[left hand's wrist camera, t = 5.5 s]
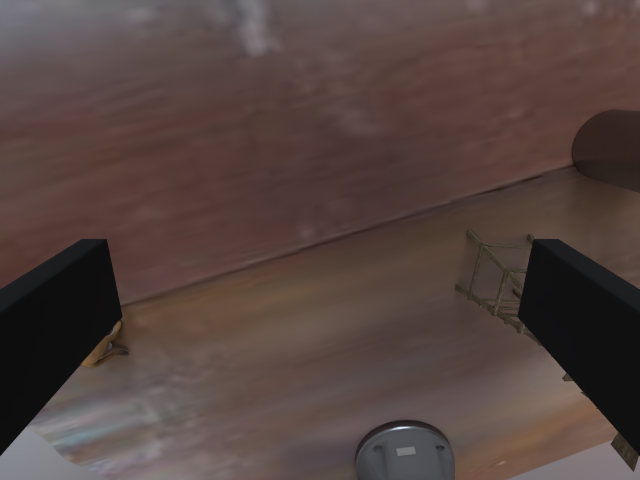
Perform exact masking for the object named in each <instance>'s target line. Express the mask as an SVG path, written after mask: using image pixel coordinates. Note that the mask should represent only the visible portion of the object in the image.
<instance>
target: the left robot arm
mask: <svg viewBox="0 0 640 480" xmlns="http://www.w3.org/2000/svg"><path fill="white" fill-rule="evenodd" d="M121 318H122V312H121V307H120V302H119V297H118V292H117V287H116V282H115V277H114V272H113V268H112V263H111V258H110V253H109V248H108V243H107V239H81V240H80V241H78V242H76V243H75V244H73V245H72V246H70V247H68V248H67V249H65V250H63V251H62V252H60V253H59V254H57V255H55V256H54V257H52V258H50V259H49V260H47V261H46V262H44V263H42V264H41V265H39V266H38V267H36V268H34V269H33V270H31V271H29V272H28V273H26V274H25V275H23V276H21V277H20V278H18V279H17V280H15V281H13V282H12V283H10V284H8V285H7V286H5V287H4V288H2V289H0V456H1V455H2V454H3V452H4V451H5V450H6V449H7V448H8V447H9V446H10V444H11V443H12V442H13V441H14V440H15V439H16V438H17V436H18V435H19V434H20V433H21V432H22V431H23V430H24V429H25V427H26V426H27V425H28V424H29V423H30V422H31V421H32V419H33V418H34V417H35V416H36V415H37V414H38V413H39V411H40V410H41V409H42V408H43V407H44V406H45V405H46V403H47V402H48V401H49V400H50V399H51V398H52V397H53V395H54V394H55V393H56V392H57V391H58V390H59V389H60V388H61V386H62V385H63V384H64V383H65V382H66V381H67V380H68V378H69V377H70V376H71V375H72V374H73V373H74V372H75V370H76V369H77V368H78V367H79V366H80V365H81V364H82V362H83V361H84V360H85V359H86V358H87V357H88V356H89V354H90V353H91V352H92V351H93V350H94V349H95V348H96V347H97V345H98V344H99V343H100V342H101V341H102V340H103V339H104V337H105V336H106V335H107V334H108V333H109V332H110V331H111V329H112V328H113V327H114V326H115V325H116V324H117V323H118V321H119V320H120V319H121ZM518 318H519V319H520V320H521V321H522V323H523V324H524V325H525V326H526V327H527V328H528V329H529V331H530V332H531V333H532V334H533V335H534V336H535V337H536V339H537V340H538V341H539V342H540V343H541V344H542V345H543V347H544V348H545V349H546V350H547V351H548V352H549V353H550V354H551V356H552V357H553V358H554V359H555V360H556V361H557V362H558V364H559V365H560V366H561V367H562V368H563V369H564V370H565V372H566V373H567V374H568V375H569V376H570V377H571V378H572V380H573V381H574V382H575V383H576V384H577V385H578V386H579V388H580V389H581V390H582V391H583V392H584V393H585V394H586V395H587V397H588V398H589V399H590V400H591V401H592V402H593V403H594V405H595V406H596V407H597V408H598V409H599V410H600V411H601V413H602V414H603V415H604V416H605V417H606V418H607V419H608V421H609V422H610V423H611V424H612V425H613V426H614V427H615V429H616V430H617V431H618V432H619V433H620V434H621V435H622V436H623V438H624V439H625V440H626V441H627V442H628V443H629V444H630V446H631V447H632V448H633V449H634V450H635V451H636V452H637V454H638V455H639V456H640V289H638V288H636V287H635V286H633V285H632V284H630V283H628V282H627V281H625V280H623V279H622V278H620V277H619V276H617V275H615V274H614V273H612V272H611V271H609V270H607V269H606V268H604V267H602V266H601V265H599V264H598V263H596V262H594V261H593V260H591V259H590V258H588V257H586V256H585V255H583V254H581V253H580V252H578V251H577V250H575V249H573V248H572V247H570V246H568V245H567V244H565V243H564V242H562V241H560V240H559V239H533V243H532V248H531V253H530V258H529V263H528V268H527V272H526V277H525V282H524V287H523V292H522V297H521V302H520V307H519V312H518ZM356 470H357V474H358V478H359V480H455V464H454V456H453V453H452V450H451V447H450V444H449V442H448V440H447V438H446V437H445V436H444V435H443V434H442V433H441V432H440V431H439V430H438V429H436V428H434V427H433V426H431V425H428V424H426V423H422V422H417V421H396V422H391V423H388V424H385V425H382V426H380V427H378V428H376V429H374V430H373V431H371V432H370V433H369V434H368V435H367V436H365V437H364V439H363V440H362V441H361V443H360V444H359V446H358V448H357V451H356Z"/></svg>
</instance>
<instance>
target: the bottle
mask: <svg viewBox="0 0 640 480" xmlns="http://www.w3.org/2000/svg"><path fill="white" fill-rule="evenodd" d="M572 157H573V161H574V164H575V166H576V168H577V169H578V170H579V171H580V172H581V173H582V174H584V175H585V176H588V177H590V178H594V179H597V180H600V181H603V182H606V183H609V184H612V185H616V186H619V187H622V188H625V189H628V190H631V191H635V192H638V193H640V111H629V110H609V111H605V112H602V113H600V114H598V115H596V116H594V117H592V118H591V119H590V120H589V121H587V122H586V123H585V124H584V125H583V126H582V128H581V129H580V130H579V132H578V134H577V135H576V138H575V140H574V143H573V148H572Z"/></svg>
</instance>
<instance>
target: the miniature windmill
mask: <svg viewBox="0 0 640 480" xmlns="http://www.w3.org/2000/svg"><path fill="white" fill-rule="evenodd" d="M467 234H468V235H469V237H470V238H471V239H472V240H473V241H474V242H475V243H476V244H477V245H478V246H479V247H480V249H479V253H478V257H477V261H476V265H475V270H474V274H473V278H472V282H471V286H470V291H467V290H466V289H464V288H463V287H461V286H460V285H456V290H458V291H459V292H461V293H462V294H464V295H465V296H467V297H468V299H467V300H473V301H475V302H476V303H478V304H479V307H480V308H485V309H487V310H488V311H490V312H491V315H492V316H498V317H499V318H501V319H502V320H504V323H505V324H510V325H511V326H513V327H515V328H516V329H518V330H517V332H518V333H520V334H521V335H523V334H525V335H527V336H528V337H530V338H531V339H533V340H534V341H536V342H538V345H539V346H543V345H542V344H541V343H540V342H539V341H538V340H537V339H536V337H535V336H534V335H533V334H532V333H531V332H530V331H529V330H528V329H526V328H525V325H524V324H523V323H522V322H516V321H514V320H512V319H511V318H509V317H518V314H505V313H502V312H500V311H499V310H498V309H504V310H519V308H513V307H499V304H500V302H501V303H516V304H520V302H521V301H507V300H501V296H502V293H503V289H504V285H505V281H506V278H507V277H508V278H509V279H510V280H511V281H512V282H513V283H514V284H515V285H516V286H517V287H518V288H519V289H520V290H521V291H522V292H523V287H524V284H523V283H522V282H521V281H520V280H519V279H518V278H517V277H516V276H515V275H514V274H513V273H512V272H518V273H526V272H527V270H525V269H511V268H507V267H506V266H505V265H504V264H503V262H502V261H501V260H500V259H499V258H498V257H497V256H496V255H495V254H494V253H493V252H492V251H491V250H490V249H489V248H488V247H487V246H491V247H505V248H518V249H531V248H532V246H520V245H507V244H493V243H483V242H482V241H481V240H480V239H479V238H478V237H477V235H476V234H475V233H474V232H473V231H472V230H469V231H468V233H467ZM527 239H528V240H529V242H530V244H531V245H532V243H533V239H534V237H533V236H532V235H528V238H527ZM482 251H484V252H485V253H486V254H487V255H488V257H489V258H490V259H491V260H492V261H493V262H494V263H495V264H496V265H497V266H498V267H499V268H500V269H501V270H502V271H503V272H504V273H503V277H502V281H501V285H500V288H499V292H498V296H497V299H496V300H493V299H480V298H478V297H477V296H475V295H474V294H472V292H473V288H474V284H475V280H476V276H477V272H478V267H479V263H480V259H481V255H482ZM513 294H514V295H515V296H517V297H518V298H519V299H520V300H521V297H522V294H521V293H520V292H519V291H518V290H517V289H513ZM485 301H487V302H496V303H495V306H491V305H489V304H488V303H486V302H485ZM562 379H564V381H573V380H572V378H571V377H570V376H569V375H568V374H567V373H566V375H565V376H564V377H563V378H562ZM581 393H582V394H584V395H585V396H587V395H586V394H585V393H584V392H581ZM597 409H598V408H597ZM611 445H612V446H613V448H614V449H615V450H616V451H617V452H618V454H619V455H620V456H621V457H622V458H623V460H624V461H625V462H626V463H627V465H628V466H629V467H630V468H631V469H632V471H633V472H634V470H635V467H636V463H637V460H638V457H639V455H638V454H637V452H636V451H635V450H634V449H633V448H632V447H631V446H630V444H629V443H628V442H627V441H626V440H625V439H624V438H623V436H622V435H621V434H620V433H619V432H618V434H617V435H616V437H615V438H614V440H613V441H612V443H611Z"/></svg>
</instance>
